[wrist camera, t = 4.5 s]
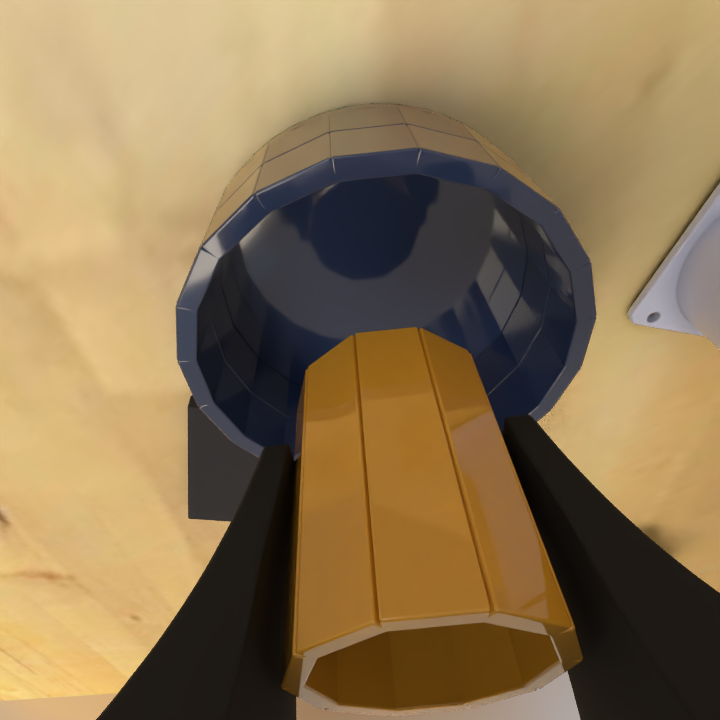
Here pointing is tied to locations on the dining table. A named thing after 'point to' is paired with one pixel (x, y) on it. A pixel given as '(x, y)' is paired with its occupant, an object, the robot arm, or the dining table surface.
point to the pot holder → (214, 469)
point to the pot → (379, 267)
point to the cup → (412, 540)
